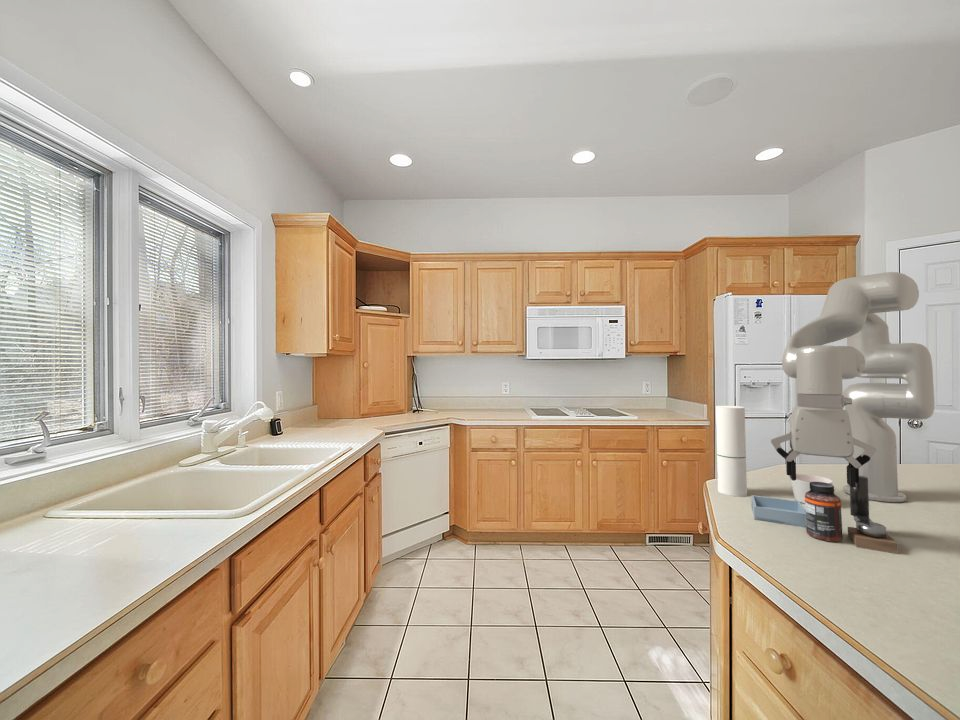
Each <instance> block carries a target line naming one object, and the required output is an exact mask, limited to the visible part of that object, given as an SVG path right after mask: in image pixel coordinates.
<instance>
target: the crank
mask: <svg viewBox="0 0 960 720" xmlns="http://www.w3.org/2000/svg"><path fill="white" fill-rule="evenodd" d="M869 501H870V499H869V494H868V478H867V477H864V476H859V483H856V488H855V487H851V486H850V494H849V503H850V504H849V505H850V506H849V507H850V509H849V511H850V516H852V517H853V520H854V521H855V526H856V527H855V528H856V530H857V531H858V532H860V533H862V534H865V535H869V536H874V537H886V536H887V534H888V533H887V527H886V526H885V525H883V524H881V523H879V522H874V521H872V519H871V518H870V502H869ZM886 533H887V534H886Z"/></svg>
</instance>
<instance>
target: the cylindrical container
mask: <svg viewBox="0 0 960 720" xmlns="http://www.w3.org/2000/svg"><path fill="white" fill-rule="evenodd" d="M745 408H746V407H745V406H742V405H741V406H740V405H715V424H716V460H717V461H716V464H717V465H716V466H717V468H716V469H717V491H718V493H719V494H722V495H726V496H730V497H746V496H747V495H748V488H747V487H748V482H747V481H748V479H747V451H746V450H747V449H746V448H747V446H746V441H747V440H746V415H745V414H746V411H745Z"/></svg>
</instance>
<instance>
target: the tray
mask: <svg viewBox="0 0 960 720" xmlns="http://www.w3.org/2000/svg"><path fill="white" fill-rule="evenodd" d="M750 499H751V500H750V502H751V503H750V504H751V511H752V515H753V519H754V520H757V521H762V522H763V521H764V522H770V523H775V524H782V525H790V526H795V527H801V528H806V515H805V507H804V506H803V503H801V502H800V501H797V500H791V499H786V498H785V499H784V498H777V497H768V496H760V495H754V494H753V495H752V494H751V496H750Z"/></svg>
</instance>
